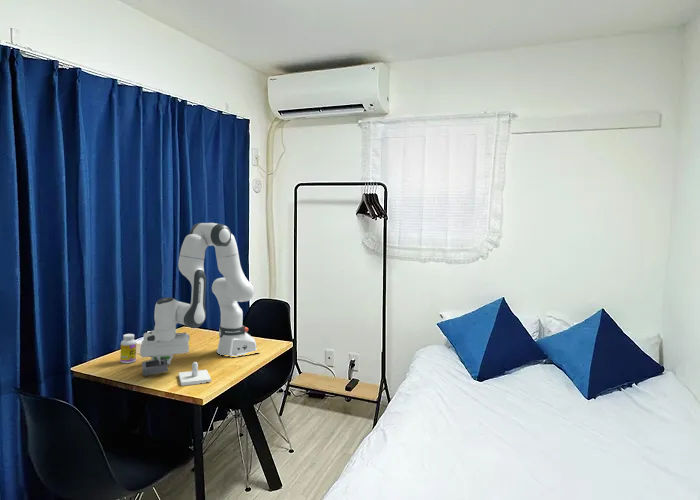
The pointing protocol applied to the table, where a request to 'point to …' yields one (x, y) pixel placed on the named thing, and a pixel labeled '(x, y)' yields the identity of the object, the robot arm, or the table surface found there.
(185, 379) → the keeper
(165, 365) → the gray square tray
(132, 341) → the supplement bottle
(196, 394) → the table surface
